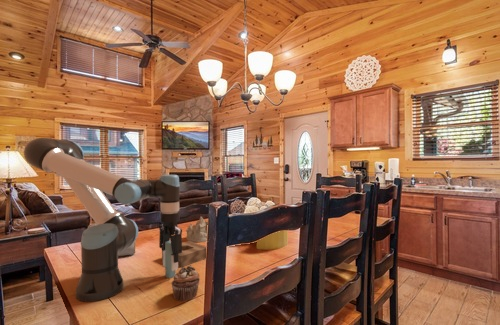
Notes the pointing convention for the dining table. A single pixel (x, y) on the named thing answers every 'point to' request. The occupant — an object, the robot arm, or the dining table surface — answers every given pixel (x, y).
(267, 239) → the cheese
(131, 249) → the ceramic mug
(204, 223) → the sand castle
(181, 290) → the cupcake
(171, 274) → the peg
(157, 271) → the dining table surface
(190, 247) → the socket block
